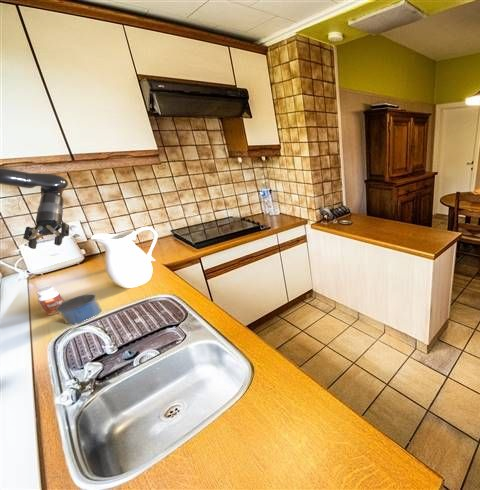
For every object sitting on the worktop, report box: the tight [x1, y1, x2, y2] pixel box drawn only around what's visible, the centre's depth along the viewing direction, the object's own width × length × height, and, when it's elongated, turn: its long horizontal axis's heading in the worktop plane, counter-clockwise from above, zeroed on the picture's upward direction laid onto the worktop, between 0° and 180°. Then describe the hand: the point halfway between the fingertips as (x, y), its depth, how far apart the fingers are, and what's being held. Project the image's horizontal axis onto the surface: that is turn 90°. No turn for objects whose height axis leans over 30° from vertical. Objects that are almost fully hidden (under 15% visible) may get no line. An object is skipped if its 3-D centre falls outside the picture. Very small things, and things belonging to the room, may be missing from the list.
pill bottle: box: [35, 286, 65, 316], centre depth 114 cm, size 6×6×11 cm
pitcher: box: [89, 226, 159, 289], centre depth 133 cm, size 24×17×28 cm
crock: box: [56, 293, 103, 325], centre depth 111 cm, size 12×12×7 cm
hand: (45, 246), depth 116 cm, fingers open, 8 cm apart
